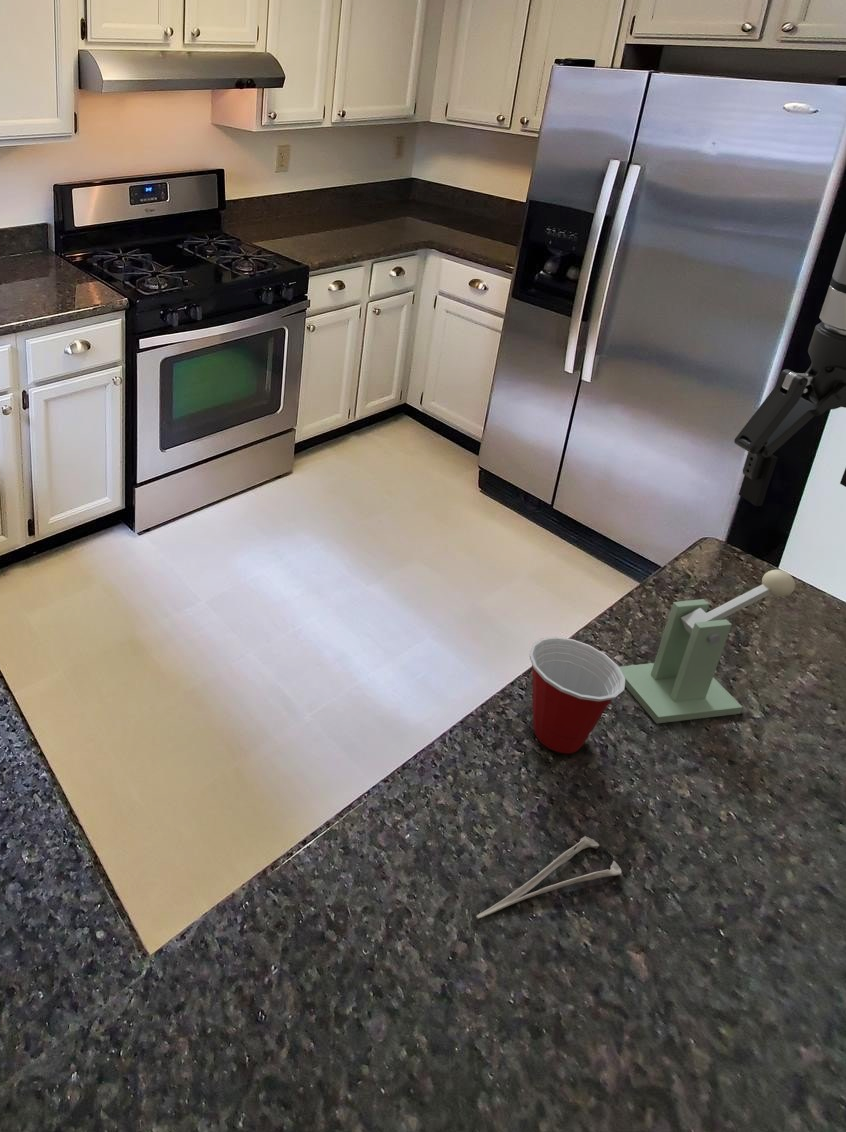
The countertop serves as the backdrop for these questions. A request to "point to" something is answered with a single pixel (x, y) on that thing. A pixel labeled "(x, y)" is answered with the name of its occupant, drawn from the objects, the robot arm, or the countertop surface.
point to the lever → (744, 598)
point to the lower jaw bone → (564, 857)
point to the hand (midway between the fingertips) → (801, 494)
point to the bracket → (684, 671)
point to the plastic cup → (570, 691)
